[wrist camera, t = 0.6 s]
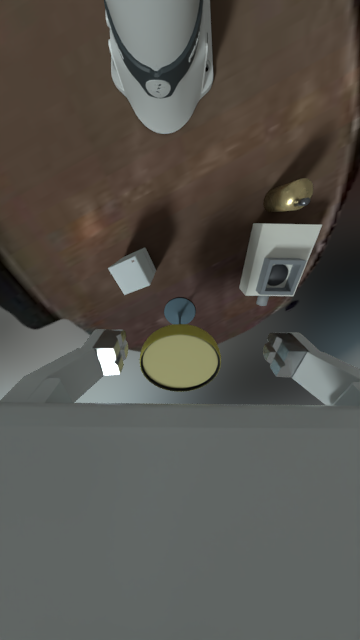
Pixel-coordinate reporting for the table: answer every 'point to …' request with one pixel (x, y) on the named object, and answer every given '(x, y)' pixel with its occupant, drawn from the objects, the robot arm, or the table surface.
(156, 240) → the table surface
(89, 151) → the table surface
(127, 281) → the supplement box
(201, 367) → the cocktail glass
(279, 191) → the spout can
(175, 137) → the table surface
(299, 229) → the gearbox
